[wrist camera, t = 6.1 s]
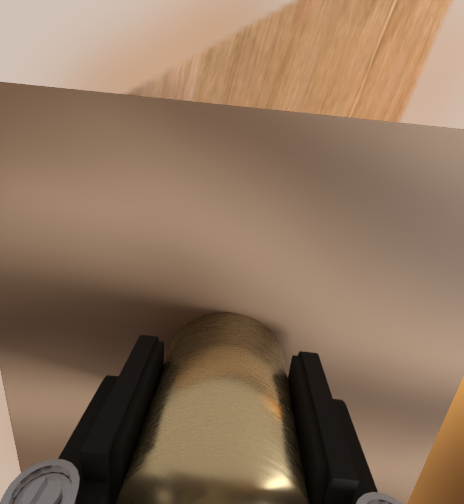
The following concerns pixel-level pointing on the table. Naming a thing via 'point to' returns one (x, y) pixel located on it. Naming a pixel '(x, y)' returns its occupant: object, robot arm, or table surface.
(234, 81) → the table surface
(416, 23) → the table surface
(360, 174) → the walnut cover
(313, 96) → the table surface
